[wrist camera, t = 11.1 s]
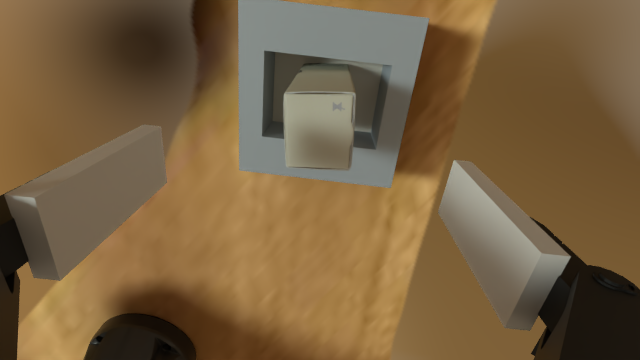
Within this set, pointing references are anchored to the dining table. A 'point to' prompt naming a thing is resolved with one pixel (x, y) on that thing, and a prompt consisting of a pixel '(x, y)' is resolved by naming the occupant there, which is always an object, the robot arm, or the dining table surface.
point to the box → (320, 118)
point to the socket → (326, 47)
